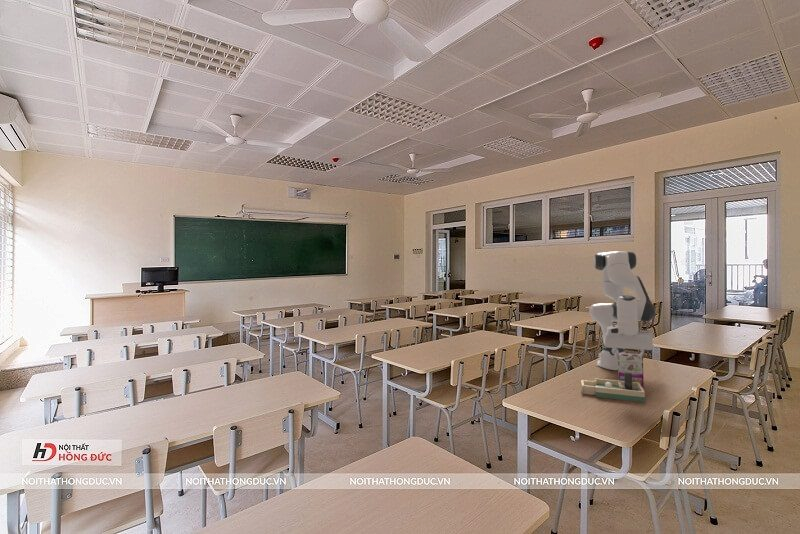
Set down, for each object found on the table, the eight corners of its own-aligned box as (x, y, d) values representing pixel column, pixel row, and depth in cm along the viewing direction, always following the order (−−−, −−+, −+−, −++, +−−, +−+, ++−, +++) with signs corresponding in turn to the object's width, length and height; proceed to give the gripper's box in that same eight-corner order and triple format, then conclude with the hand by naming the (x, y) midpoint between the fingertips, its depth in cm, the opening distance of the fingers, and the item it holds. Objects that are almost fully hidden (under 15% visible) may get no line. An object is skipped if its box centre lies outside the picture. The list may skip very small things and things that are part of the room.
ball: (604, 387, 183) (604, 380, 183) (611, 387, 182) (611, 381, 181) (605, 389, 180) (605, 382, 180) (612, 390, 179) (612, 383, 179)
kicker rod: (618, 387, 181) (617, 371, 181) (631, 388, 179) (631, 372, 179) (619, 390, 177) (619, 374, 176) (633, 392, 174) (633, 375, 174)
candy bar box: (642, 384, 192) (642, 353, 191) (643, 387, 187) (643, 356, 187) (618, 381, 197) (617, 351, 196) (618, 384, 192) (618, 353, 192)
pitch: (580, 385, 192) (580, 376, 192) (639, 391, 181) (638, 382, 181) (582, 395, 179) (582, 385, 179) (645, 402, 169) (644, 392, 169)
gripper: (651, 329, 175) (652, 357, 175) (603, 327, 184) (603, 354, 184) (654, 331, 169) (655, 361, 170) (604, 329, 178) (605, 357, 178)
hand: (628, 357), depth 177 cm, fingers open, 8 cm apart
